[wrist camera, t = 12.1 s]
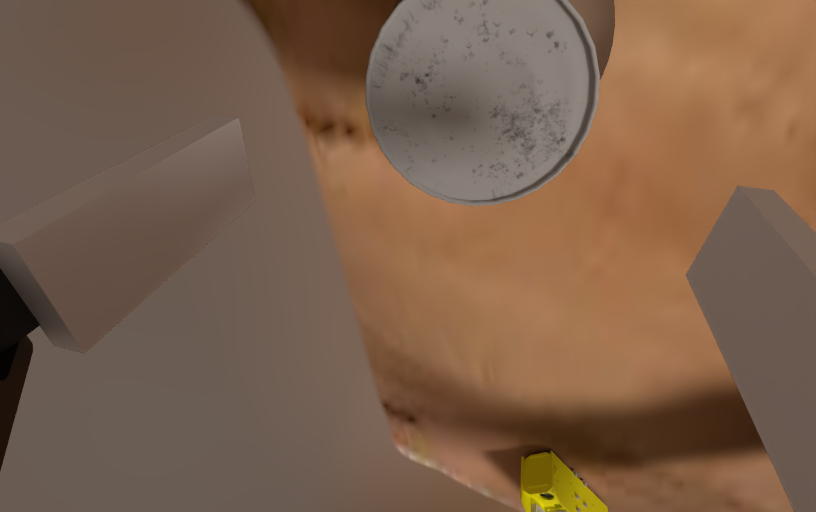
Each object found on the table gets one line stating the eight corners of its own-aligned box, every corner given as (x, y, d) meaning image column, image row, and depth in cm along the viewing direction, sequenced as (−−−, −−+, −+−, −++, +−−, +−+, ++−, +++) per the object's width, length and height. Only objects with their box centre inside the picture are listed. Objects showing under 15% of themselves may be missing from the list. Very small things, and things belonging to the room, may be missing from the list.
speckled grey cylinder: (460, 143, 31) (427, 230, 21) (397, 13, 27) (322, 50, 17) (594, 84, 27) (628, 161, 17) (544, -82, 23) (551, -103, 13)
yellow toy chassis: (518, 452, 62) (516, 510, 56) (553, 445, 59) (555, 506, 53) (574, 505, 67) (578, 565, 61) (608, 501, 64) (617, 564, 58)
